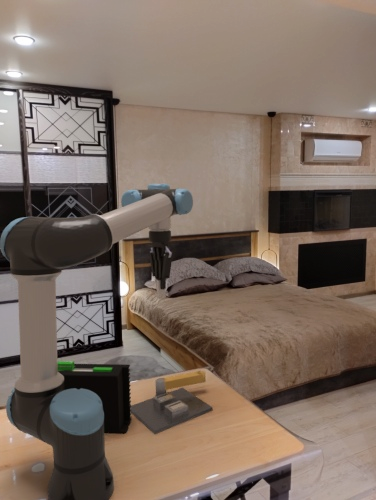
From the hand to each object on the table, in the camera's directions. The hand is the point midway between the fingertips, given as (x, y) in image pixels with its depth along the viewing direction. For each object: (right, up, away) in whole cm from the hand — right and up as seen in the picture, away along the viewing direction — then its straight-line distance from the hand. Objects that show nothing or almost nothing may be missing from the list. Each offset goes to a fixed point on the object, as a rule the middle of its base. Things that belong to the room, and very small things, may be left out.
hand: (161, 297), depth 139 cm
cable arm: (+7, -33, +1) cm, 34 cm away
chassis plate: (+3, -36, -8) cm, 37 cm away
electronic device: (-23, -37, -15) cm, 46 cm away
